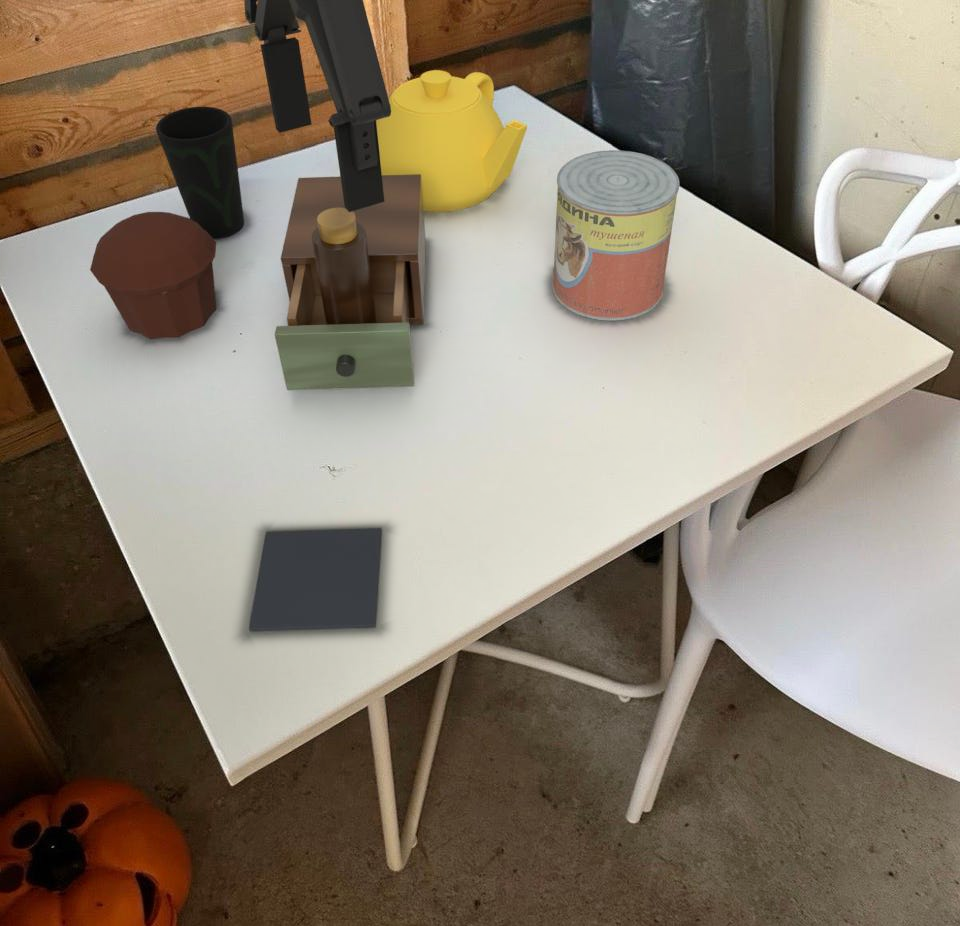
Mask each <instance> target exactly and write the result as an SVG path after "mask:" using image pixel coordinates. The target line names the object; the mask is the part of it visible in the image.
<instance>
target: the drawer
mask: <svg viewBox="0 0 960 926" xmlns="http://www.w3.org/2000/svg"><path fill="white" fill-rule="evenodd" d="M370 270H371V278H372V286H373V295H374V303H375V311H376V319H377V323H368V324H335V325H326V319H325V313H324V308H323V302H322V296H321V290H320V284H319V278H318V273H317V267H316V264H297V269H296V274H295V279H294V284H293V289H292V295H291V300H290V301H289V305H288V310H287V315H286V322H287V325H277V326H275V331H274V338H275V343H276V348H277V352H278V357H279V361H280V365H281V369H282V375H283V379H284V384H285V387H286V390H287V391H301V390H302V391H303V390H336V389H337V390H339V389H367V388H369V389H373V388H400V387H401V388H402V387H403V388H404V387H415V372H414V371H415V370H414V359H413V349H412V337H411V327H410V326H411V325H409V309H410V288H409V276H408V265H407V261H398V262H370Z"/></svg>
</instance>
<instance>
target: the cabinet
mask: <svg viewBox="0 0 960 926" xmlns="http://www.w3.org/2000/svg"><path fill="white" fill-rule="evenodd" d="M382 182H383V192H384V202H382V203H379V204H375V205H372V206H368V207H365V208H362V209H358V210H355V211H353V212H354V214H355V217H356V222H357V223H359V224H361V225H362V226H363V227H364V228H365V231H366V237H367V245H368V254H369V262H398V261H407V265H408V276H409V288H410V309H409V325H410V326H412V325H414V326H415V325H424V319H425V318H424V316H425V283H426V282H425V280H426V249H427V248H426V247H427V246H426V245H427V241H426V224H425V211H424V210H423V195H422V182H421V174H413V175H382ZM294 191H295V192H294V197H293V201H292V204H291V210H290V214H289V219H288V223H287V228H286V231H285V236H284V242H283V246H282V250H281V255H280V261H281V265H282V271H283V275H284V281H285V286H286V291H287V296H288V301H289V302H290V300H291V295H292V289H293V284H294V279H295V274H296V269H297V264H316V261H315V255H314V249H313V243H312V238H311V237H312V233H313V231H314V230H315V229H316V228H317V227H318V223H317V217H318V215H319V214H320V213H322V212H323V211H325V210H328V209H331V208H345V205H344V198H343V191H342V184H341V177H340V176H320V177H319V176H317V177H316V176H315V177H314V176H313V177H298V179H297V183H296V188H295V190H294Z"/></svg>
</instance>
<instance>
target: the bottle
mask: <svg viewBox="0 0 960 926" xmlns="http://www.w3.org/2000/svg"><path fill="white" fill-rule="evenodd" d="M317 223H318V227H317V228H316V229H315V230H314V231H313V233H312V237H311V238H312V243H313V249H314V255H315V261H316V267H317V273H318V278H319V284H320V290H321V296H322V302H323V308H324V313H325V319H326V325H335V324H368V323H377V319H376V311H375V303H374V295H373V286H372V278H371V270H370V262H369V254H368V245H367V237H366V231H365V228H364V227H363V226H362V225H361V224H359V223H357V222H356V217H355V214H354V212H353V211H352V212H348V210H347V209H346V208H331V209H328V210H325V211H323V212H322V213H320V214H319V215H318V217H317Z"/></svg>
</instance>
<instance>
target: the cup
mask: <svg viewBox="0 0 960 926" xmlns="http://www.w3.org/2000/svg"><path fill="white" fill-rule="evenodd" d="M233 128H234V127H233V120H232V117H231V115H230V114H229V113H228V112H227V111H226V110H223V109H221V108H217V107H215V106H214V107H213V106H192V107H191V106H190V107H186V108H181V109H178V110H175V111H172V112H170V113H168V114H166V115H164V116H163V117H162V118H161V119H160V120H159V121H158V123H157V124H156V126H155V131H156V134H157V137H158V139H159V143H160V145H161V147H162V150H163V153H164V156H165V158H166V160H167V163H168V165H169V168H170V170H171V173H172V176H173V179H174V181H175V184H176V186H177V189H178V191H179V194H180V197H181V199H182V202H183V205H184V207H185V209H186V212H187V214H188V218H190V219H192V220H193V221H195V222H197V223H198V224H199V225H200V226H201V227H202V228H203V229H204V230H206V231H207V232H208V233H209V235H210V236H211V237H212V238H213V239H214V240H218V239H219V240H220V239H224V238H228V237H231V236H234V235H235V234H237V233H239V232H240V231H241V230H242V229H243V227H244V226H245V217H244V216H245V215H244V209H243V201H242V200H243V199H242V192H241V184H240V176H239V168H238V161H237V152H236V145H235V144H236V143H235V134H234V129H233Z"/></svg>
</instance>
